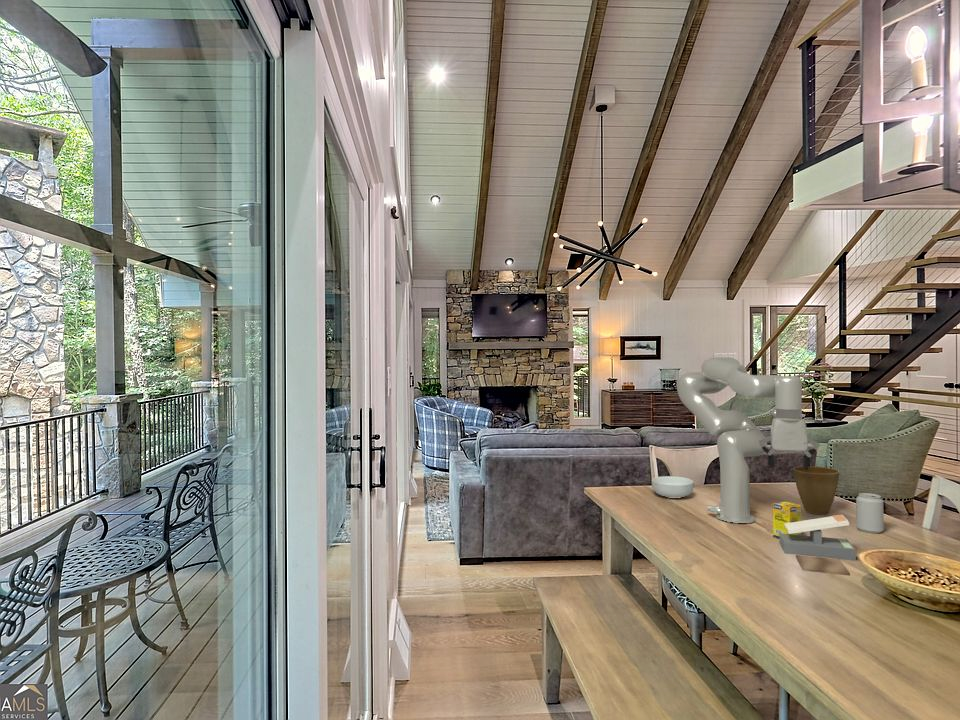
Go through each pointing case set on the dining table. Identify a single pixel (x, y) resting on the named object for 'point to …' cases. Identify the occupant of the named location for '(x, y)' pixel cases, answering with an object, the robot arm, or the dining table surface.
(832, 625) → the dining table surface
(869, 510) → the can
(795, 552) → the grey pedestal base
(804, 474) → the plant pot
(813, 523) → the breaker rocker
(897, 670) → the dining table surface
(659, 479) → the cereal bowl
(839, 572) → the pad
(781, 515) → the supplement box
